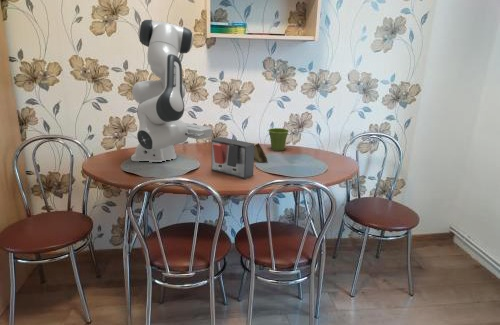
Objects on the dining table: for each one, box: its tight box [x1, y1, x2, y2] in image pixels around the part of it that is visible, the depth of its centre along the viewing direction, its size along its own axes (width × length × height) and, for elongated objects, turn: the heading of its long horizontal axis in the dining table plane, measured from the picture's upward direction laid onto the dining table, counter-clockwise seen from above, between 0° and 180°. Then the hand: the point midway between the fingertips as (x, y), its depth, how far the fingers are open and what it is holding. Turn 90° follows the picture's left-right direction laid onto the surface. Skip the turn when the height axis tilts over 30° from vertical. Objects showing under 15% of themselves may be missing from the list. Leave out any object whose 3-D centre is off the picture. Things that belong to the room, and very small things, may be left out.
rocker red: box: [213, 144, 224, 164], centre depth 159 cm, size 2×4×9 cm, turn 56°
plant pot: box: [267, 127, 290, 152], centre depth 203 cm, size 12×12×11 cm
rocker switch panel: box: [211, 136, 255, 180], centre depth 161 cm, size 7×19×15 cm, turn 57°
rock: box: [254, 142, 269, 163], centre depth 184 cm, size 11×9×10 cm
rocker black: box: [227, 145, 239, 167], centre depth 155 cm, size 2×4×9 cm, turn 56°
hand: (201, 126), depth 145 cm, fingers open, 4 cm apart
